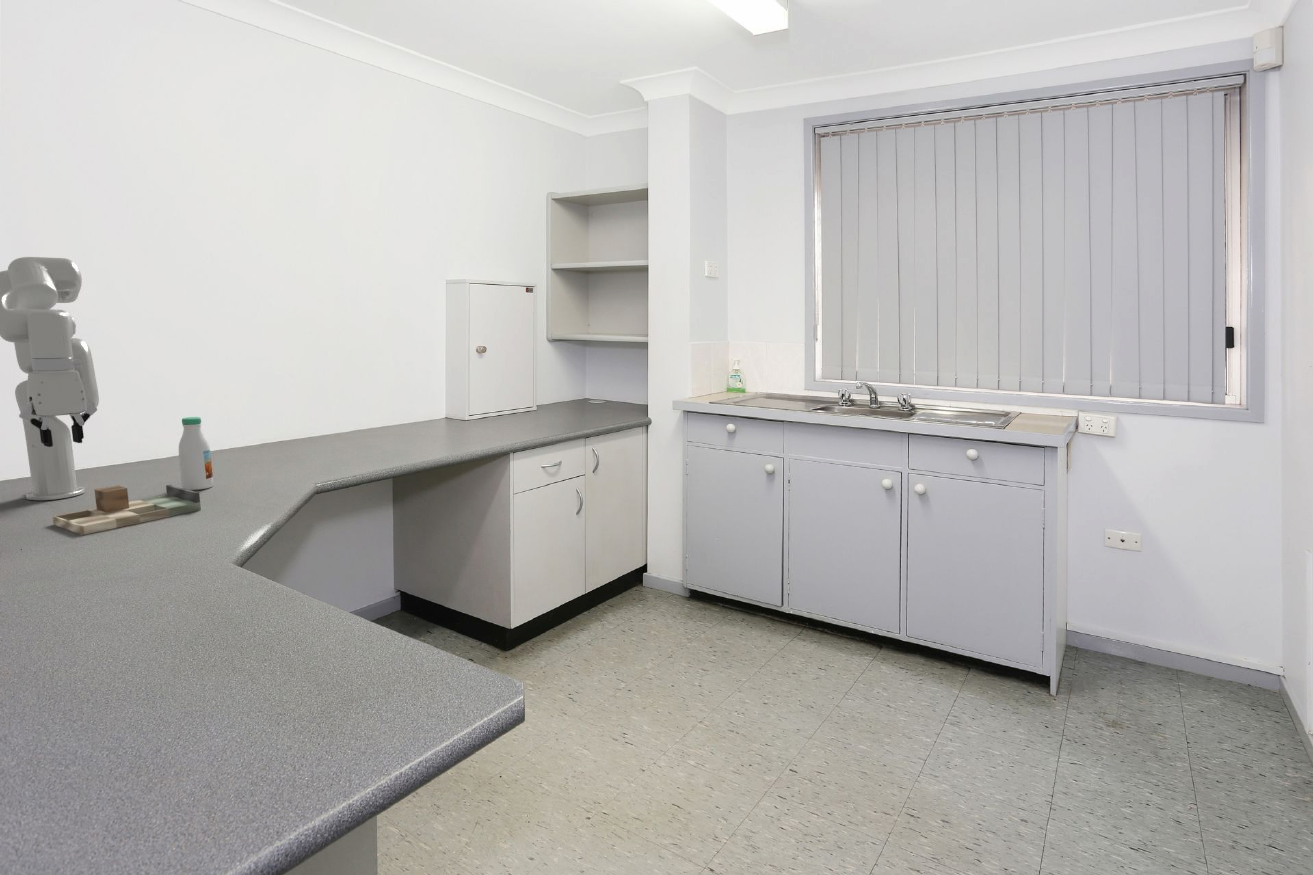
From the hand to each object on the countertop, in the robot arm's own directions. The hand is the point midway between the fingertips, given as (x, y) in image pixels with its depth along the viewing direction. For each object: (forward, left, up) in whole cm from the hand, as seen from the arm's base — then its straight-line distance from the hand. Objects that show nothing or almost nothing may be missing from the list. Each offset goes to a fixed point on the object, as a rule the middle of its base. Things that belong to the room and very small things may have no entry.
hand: (63, 443), depth 178 cm
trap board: (+3, +11, -19) cm, 22 cm away
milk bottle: (-14, +36, -20) cm, 43 cm away
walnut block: (0, +9, -17) cm, 19 cm away
